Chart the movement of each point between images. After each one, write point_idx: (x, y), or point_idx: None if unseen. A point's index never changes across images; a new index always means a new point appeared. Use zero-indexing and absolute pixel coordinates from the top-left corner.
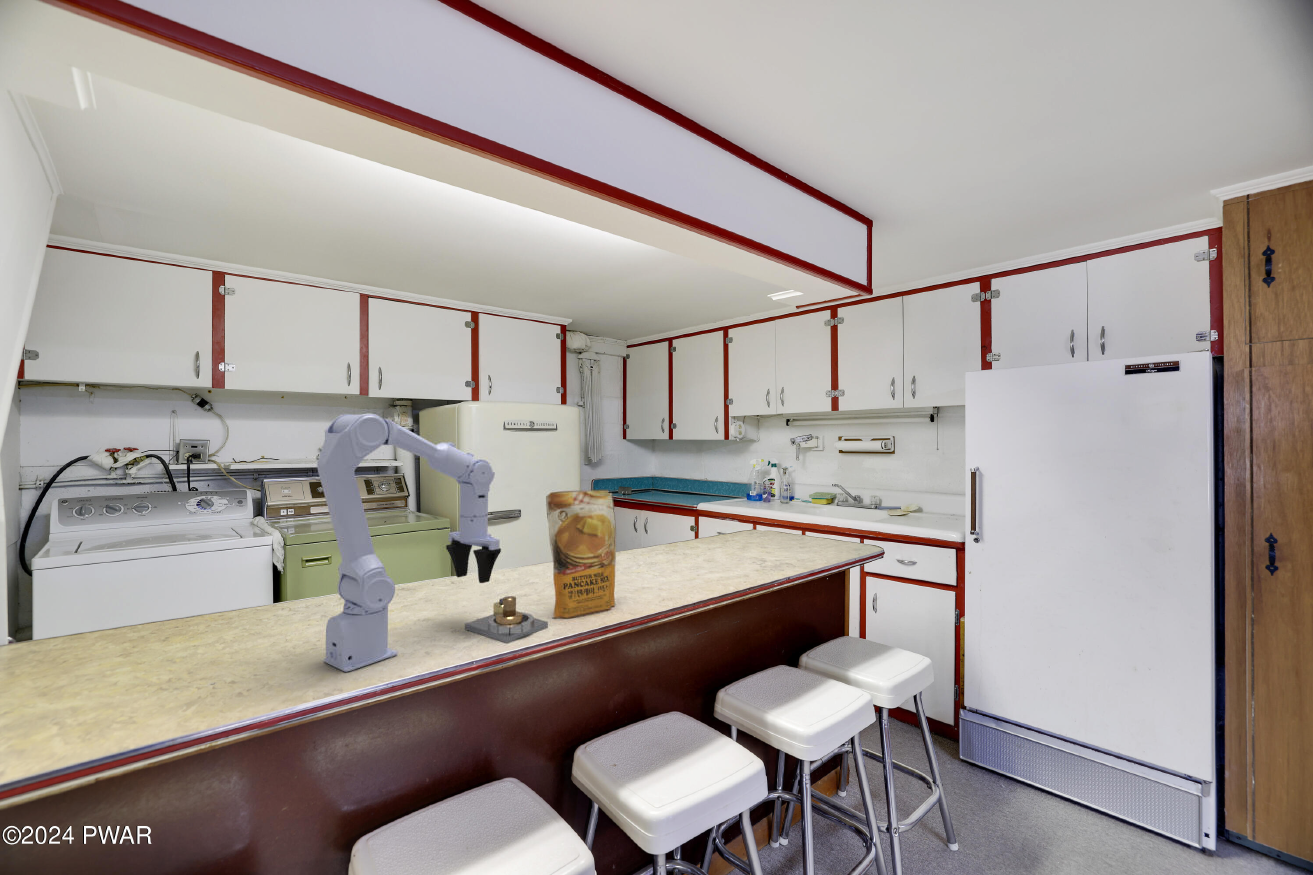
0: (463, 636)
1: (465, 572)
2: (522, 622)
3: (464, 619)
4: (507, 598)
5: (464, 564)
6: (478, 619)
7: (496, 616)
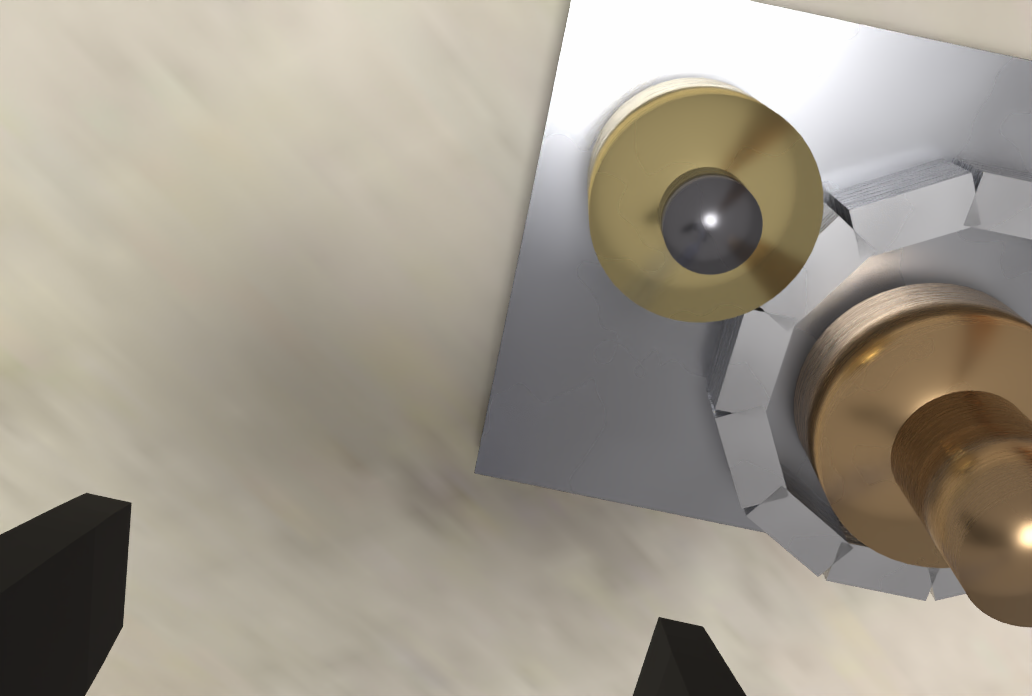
0: (580, 563)
1: (104, 551)
2: (983, 244)
3: (282, 250)
4: (1026, 579)
5: (15, 657)
6: (508, 342)
7: (853, 532)
